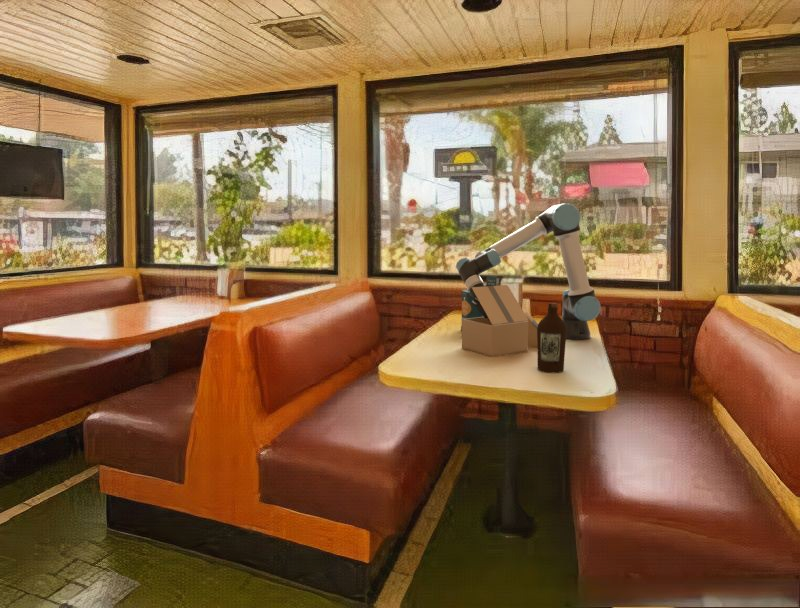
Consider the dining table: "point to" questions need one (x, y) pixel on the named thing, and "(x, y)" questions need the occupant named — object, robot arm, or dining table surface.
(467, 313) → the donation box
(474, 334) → the carton
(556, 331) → the olive oil
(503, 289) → the lid flap
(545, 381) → the dining table surface
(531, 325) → the sandwich container
